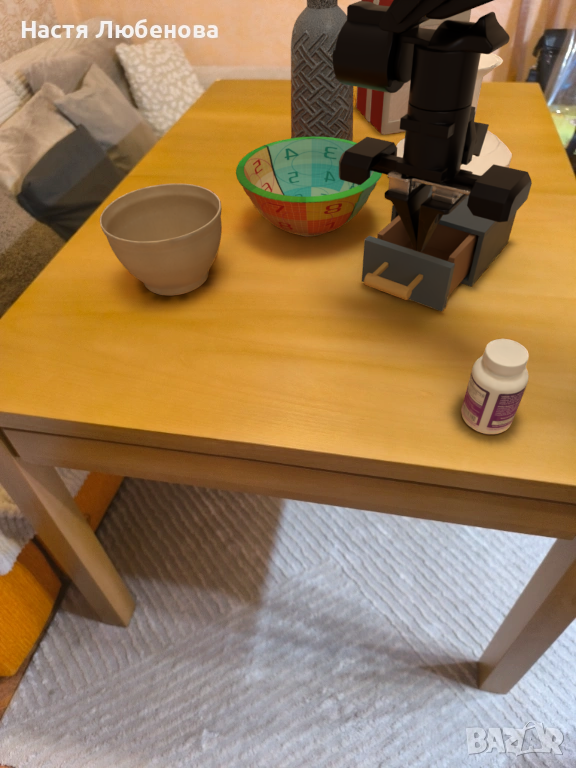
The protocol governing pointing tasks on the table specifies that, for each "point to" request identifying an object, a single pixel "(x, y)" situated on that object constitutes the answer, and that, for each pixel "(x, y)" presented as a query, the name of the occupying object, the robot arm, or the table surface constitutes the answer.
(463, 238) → the drawer
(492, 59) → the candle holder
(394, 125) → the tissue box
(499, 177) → the robot arm
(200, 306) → the table surface
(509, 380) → the pill bottle
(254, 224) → the table surface
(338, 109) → the vase
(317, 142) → the bowl
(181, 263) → the planter bowl
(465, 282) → the cabinet
